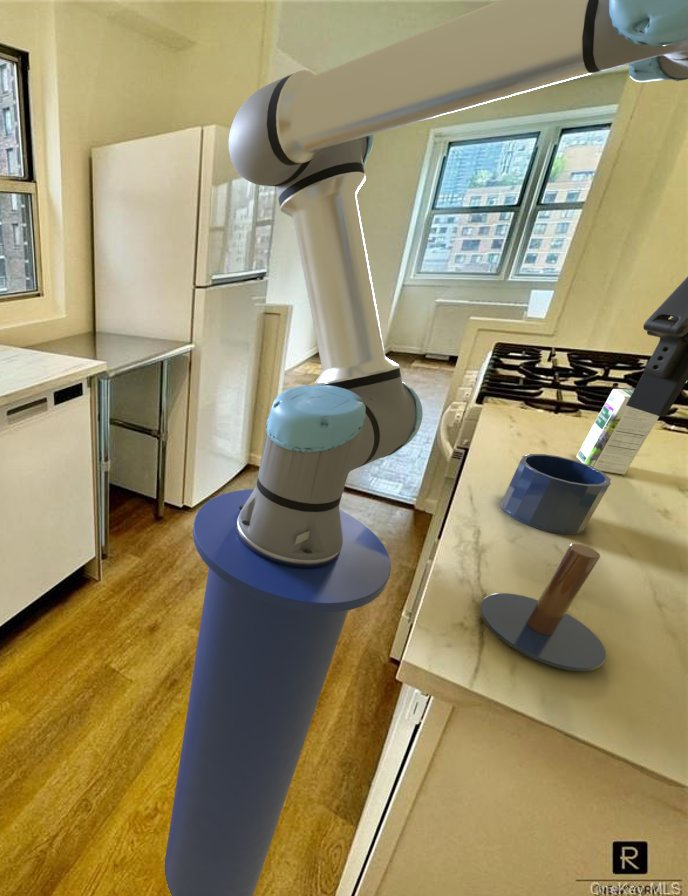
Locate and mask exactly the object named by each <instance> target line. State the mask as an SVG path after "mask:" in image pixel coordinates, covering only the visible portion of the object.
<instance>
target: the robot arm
mask: <svg viewBox="0 0 688 896" xmlns="http://www.w3.org/2000/svg"><path fill="white" fill-rule="evenodd" d="M624 66H628V67H629V68H628V75H629V77H630V78H631V79H632V81H634V82H637V83H649V82H658V81H660V82H661V81H676V82H682V81H687V80H688V0H496V1H494V2H492V3H489V4H487V5H484V6H481V7H478V8H477V9H474V10H472V11H470V12H466V13H464V14H462V15H460V16H456V17H454V18H452V19H450V20H448V21H447V20H446V21H444V22H442V23H439V24H438V25H434V26H433V27H430V28H428V29H425V30H423V31H420V32H418V33H415V34H413V35H411V36H408V37H406V38H402V39H401V40H398V41H396V42H393V43H391V44H388V45H386V46H383V47H381V48H378V49H376V50H373V51H371V52H369V53H366V54H364V55H362V56H358V57H356V58H354V59H351V60H349V61H346V62H344V63H342V64H339V65H337V66H335V67H332V68H329V69H327V70H325V71H322V72H319V73H317V74H315V73H314V72H312V71H310V70H307V69H302V70H299V71H295V72H293V73H292V74H289V75H286V76H285V77H281V78H280V79H277V80H274V81H273V82H271V83H269V84H267V85H265V86H263V87H261V88H259V89H257V90H256V91H255V92H253V93H252V94H251V95H249V97H248V98H247V99H246V100H245V101H244V102H243V103H242V104H241V105H240V108H239V109H238V110H237V112H236V114H235V116H234V118H233V121H232V123H231V126H230V129H229V134H228V154H229V158H230V161H231V163H232V165H233V167H234V169H235V170H236V172H237V173H238V175H240V176H241V177H242V178H243V179H244V180H246V181H247V182H250V183H252V184H253V185H257V186H258V185H259V186H262V187H263V186H264V187H275V189H276V190H275V191H276V194H277V199H278V204H279V209H280V213H282V214H284V215H286V216H289V217H291V218H292V219H293V225H294V230H295V235H296V240H297V245H298V250H299V256H300V260H301V261H300V262H301V267H302V271H303V272H302V273H303V276H304V280H305V286H306V292H307V298H308V304H309V308H310V313H311V319H312V325H313V329H314V334H315V339H316V344H317V345H316V346H317V350H318V354H319V359H320V366H321V372H320V374H319V375H318V377H317V378H316V380H314V383H313V386H312V385H309V384H304V385H298V386H294V387H291V388H289V389H286V390H284V391H283V392H281V393H279V394H278V396H277V397H276V398H275V399H274V401H273V402H272V405H271V408H270V413H269V415H268V417H267V419H266V424H265V425H266V426H265V437H264V441H263V447H262V452H261V457H260V462H259V463H260V464H259V468H258V474H257V479H256V484H255V487H254V490H253V492H252V494H251V495H250V497H249V498H248V500H247V502H246V503H245V505H240V507H239V509H240V510H241V511H240V514H239V516H238V520H237V526H236V531H237V535H238V537H239V539H240V540H241V542H242V543H243V544H244V545H245V546H246V547H247V548H248V549H249V550H250V551H252V552H253V553H255V554H256V555H258V556H260V557H261V558H263V559H265V560H268V561H270V562H273V563H275V564H278V565H282V566H286V567H291V568H298V569H315V568H321V567H325V566H327V565H330V564H331V563H333V562H334V561H335V560H337V558H338V557H339V555H340V552H341V548H342V545H343V533H342V525H341V517H340V510H341V509H340V504H341V500H342V497H343V494H344V490H345V486H346V484H347V479H348V476H349V474H350V472H352V471H354V470H357V469H358V468H361V467H364V466H366V465H368V464H371V463H373V462H374V461H377V460H379V459H384V458H386V457H388V456H391V455H394V454H395V453H397V452H398V451H399V450H401V449H402V448H404V447H405V446H407V445H408V444H409V443H410V442H411V441H412V440H414V438H415V437H416V435H417V434H418V433H419V430H420V428H421V425H422V421H423V414H424V413H423V412H424V411H423V406H422V402H421V399H420V397H419V395H418V394H417V392H416V390H414V389H413V388H412V387H409V385H407V383H406V382H403V378H402V373H401V367H400V364H398V363H396V362H395V361H393V360H391V359H389V358H388V357H387V356H386V352H385V347H384V342H383V337H382V331H381V326H380V319H379V313H378V309H377V304H376V297H375V292H374V287H373V286H374V285H373V282H372V281H373V280H372V275H371V270H370V265H369V264H370V263H369V260H368V253H367V248H366V243H365V242H366V241H365V237H364V232H363V225H362V221H361V215H360V210H359V203H358V198H357V194H358V192H359V190H360V189H361V187H362V186H363V184H364V183H365V181H366V172H365V171H366V170H365V166H366V164H367V159H368V156H369V155H370V154H371V152H372V149H373V144H374V135H376V134H379V133H382V132H387V131H390V130H393V129H398V128H401V127H404V126H407V125H412V124H415V123H419V122H422V121H426V120H429V119H434V118H437V117H440V116H443V115H447V114H452V113H455V112H458V111H462V110H466V109H469V108H473V107H476V106H480V105H484V104H487V103H491V102H494V101H498V100H501V99H505V98H509V97H512V96H516V95H520V94H523V93H527V92H531V91H534V90H538V89H541V88H544V87H549V86H552V85H556V84H559V83H563V82H566V81H570V80H574V79H578V78H580V77H585V76H588V75H591V74H597V73H601V72H604V71H608V70H612V69H617V68H620V67H624ZM643 330H644V331H646V334H647V335H648V336H650V337H656V338H659V341H658V344H657V345H656V347H655V349H654V351H653V353H652V354H651V356H650V358H649V360H648V362H647V364H646V366H645V367H644V370H643V373H642V375H641V376H640V379H639V380H638V382H637V384H636V386H635V387H634V389H633V390H634V391H633V393H632V395H631V397H630V399H629V400H628V402H627V404H626V406H629V407H633V408H636V409H639V410H642V411H645V412H648V413H651V414H654V415H657V416H659V417H666V416H667V415H668V414H669V412H670V411H671V408H672V407H673V405H674V403H675V401H676V400H677V398H678V396H679V395H680V393H681V392H682V390H683V388H684V386H685V385H686V383H687V382H688V276H687V277H686V278H685V279H684V280H683V281H682V282H681V283H680V284H679V285H678V286H677V287H676V288H675V290H673V292H671V294H670V295H669V296H668V297H667V298H666V299H665V300H664V301H663V302H662V304H661V305H660V306H658V308H657V309H656V310H655V311H654V312H653V313H652V314H651V315H650V316H649V317H648V319H646V320H645V322H644V323H643Z"/></svg>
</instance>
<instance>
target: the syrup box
mask: <svg viewBox="0 0 688 896" xmlns="http://www.w3.org/2000/svg"><path fill="white" fill-rule="evenodd" d="M633 391H634V389H625V388H624V389H623V388H613V389H612V390H611V391H610V393H609V395H608V397H607V399H606V401H605V403H604V405H603V406H602V408H601V410H600V412H599V414H598V415H597V417H596V419H595V421H594V423H593V425H592V426H591V428H590V430H589V432H588V433H587V436H586V437H585V439H584V441H583V443H582V444H581V447H580V449H579V451H578V453H577V454H576V459H578V460H579V462H581V463H584V464H587V465H590V466H592V467H594V468H596V469H598V470H600V471H602V472H604V473H612V474H619V475H626V472H627V471H628V469H629V468H630V466H631V464H632V463H633V461H635V458H636V456H637V455H638V453H639V451H640V449H641V448H642V446H643V444H644V443H645V441H646V439H647V438H648V437H649V435H650V434H651V432H652V430H653V428H654V426H655V425H656V423H657V421H658V420H659V418H660V416H657V415H654V414H651V413H648V412H645V411H642V410H639V409H636V408H633V407H629V406H626V404H627V402H628V400H629V399H630V397H631V395H632V393H633Z"/></svg>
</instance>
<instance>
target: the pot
mask: <svg viewBox="0 0 688 896" xmlns="http://www.w3.org/2000/svg"><path fill="white" fill-rule="evenodd" d="M610 485H611V477H609V476H608V475H607V474H606V472H604V471H600V470H598V469H596V468H594V467H592V466H590V465H587V464H584V463H581V461H578V460H575V459H571V458H569V457H568V458H567V457H563V456H559V455H553V454H546V453H529V454H525V455H522V457H521V459H520V461H519V463H518V465H517V467H516V469H515V472H514V474H513V475H512V478H511V480H510V482H509V484H508V487H507V489H506V491H505V493H504V495H503V498H502V500H501V502H500V507H501V509H502V510H503V511H504V513H506V514H507V515H508V516H510V517H511V518H513V519H515V521H518V522H520V523H521V524H524V525H527V526H529V527H532V528H535V529H536V530H537V529H538V530H541V531H545V532H549V533H552V534H559V535H576V534H580V533H583V532H584V530H585V529H586V527H587V526H588V524H589V522H590V521H591V518H592V517H593V515H594V513H595V512H596V510H597V508H598V506H599V504H600V502H601V501H602V499H603V498H604V496H605V494H606V492H607V490H608V489H609V487H610Z"/></svg>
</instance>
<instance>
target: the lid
mask: <svg viewBox="0 0 688 896" xmlns="http://www.w3.org/2000/svg"><path fill="white" fill-rule="evenodd" d="M600 559H601V554H600V553H599V552H598V551H597V550H596V549H594V548H592V547H589V546H587V545H585V544H579V543H571V544H569V545H568V547H567V549H566V551H565V552H564V553H563V556H562V558H561V559H560V561H559V563H558V565H557V567H556V569H555V570H554V572H553V574H552V576H551V577H550V579H549V581H548V582H547V584H546V586H545V588H544V589H543V592H542V593H541V595H540V596H539V599H536V598H532V597H529V596H525V595H521V594H515V593H509V592H507V593H506V592H501V593H492V594H490V595H487V596H485V597H484V598H483V599H482V600H481V602H480V604H479V608H478V611H479V615H480V618H481V619H482V622H483V623H484V624H485V625H486V627H487V628H488V629H489V630H490V632H492V633H493V634H494V635H495V636H496V637H497V638H499V639H500V640H501V641H502V642H504V643H505V644H506V645H508V646H509V647H511V648H513V649H514V650H516V651H517V652H519V653H520V654H522V655H525V656H527V657H528V658H531V659H533V660H535V661H538V662H539V663H543V664H545V665H547V666H550V667H555V668H558V669H561V670H566V671H573V672H590V671H594V670H597V669H599V668H600V667H601V666H603V664H604V662H605V661H606V658H607V652H606V648H605V646H604V644H603V643H602V641H601V640H600V639H599V637H598V636H597V635H596V634H595V633H594V632H593V631H592V630H591V629H589V627H587V626H586V625H585V624H584V623H583V622H581V621H579V619H577V618H575V617H574V616H572V615H571V614H569V613H568V611H569V610H570V607H572V604H573V602H574V601H575V599H576V598H577V596H578V595H579V593H580V591H581V590H582V588H583V586H584V585H585V583H586V582H587V580H588V578H589V576H590V575H591V573H592V571H593V569H594V568H595V566H596V565H597V563H598V561H599V560H600Z"/></svg>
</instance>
